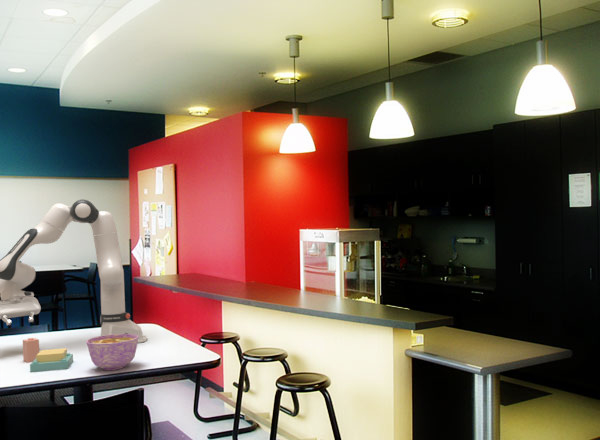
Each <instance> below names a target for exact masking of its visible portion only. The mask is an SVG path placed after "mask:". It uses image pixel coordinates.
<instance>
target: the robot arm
mask: <svg viewBox="0 0 600 440" xmlns="http://www.w3.org/2000/svg"><path fill="white" fill-rule="evenodd" d="M72 222H76V223H80V224H86V223H87V224H88V225H90V227H91V230H92V236H93V242H94V247H95V253H96V255H95V256H96V262H97V269H98V276H99V279H100V307H101V308H100V312H101V313H100V317H99V319H100V329H101V330H100V336H104V335H113V334H134V335H138V337H139V338H138V343H137V344H139V343H144V342H147V341H148V336H146V335H144V334H143V330H142V327H141V326H140V325H139V324H137V323H135V322H134V321H132V320H131V319H130V318H131V315H130V313H129V312H126V301H125V299H126V297H125V272H124V271H125V270H124V268H123V260H122V255H121V248H120V243H119V236H118V231H117V226H116V223H115V219H114V217H113V214H112V213H111V212H110V211H107V210H106V211H105V210H101V211H100V210H98V209H97V208H96V206H95V205H94V204H93V202H91V201H89V200H88V199H78V200H76V201H74V202H73V204H72V205H67V204H64V203H59V202H58V203H55V204H53V205H52V206H51V207H50V209H48V211H47V212H46V213H45V214H44V216H43V217H42V219H41V221H39V223H38V224H37V225H36V226H35V227H33V228H30V229H28V230H26V231H25V233H24V234H23V235H22V236H21V237H20V238H19V239H18V240H17V241H16V243H15V244H14V245H13V246H12V247H11V249H10V250H9V251H8V252H7V254H6V255H4V256H3V257H2V258H1V259H0V320H2V321H3V322H4V323H6V326H11V324H12V320H11V318H18V317H25V316H29V317H28V323H34V315H38V314H40V312H41V310H42V308H41V304H40V303H39V300H38V298H36V297H34V296H35V294H34V292H33V291H25V290H23V289H25V288H27V287H28V286H30V285H31V284H32V283H33V282H34V281H35V280H36V275H37V274H36V273H37V272H36V269H35V268H34V267H33V266H31V265H29V264H26V263H23V262H22V261H20V259H22V257H23V256H24V255H26V252H27V251H28V250H29V249H30V248H32V246H34V245H35V246H36V245H41V244H42V245H45V244H46V245H47V244H48V245H49V244H53V243H55V242H58V241H59V239H60V238H61V237H62V235H63V233H64V232H65V230H66V229H67V227H68V225H70V223H72Z"/></svg>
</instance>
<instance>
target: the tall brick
mask: <svg viewBox="0 0 600 440" xmlns="http://www.w3.org/2000/svg"><path fill="white" fill-rule="evenodd" d="M39 352H40V340H39V339H38V338H37V337H36V338H35V337H29V338H26V339H22V356H23V362H24V363H32V362H33V361H34V360H35V359H36V355H37V354H38V353H39Z"/></svg>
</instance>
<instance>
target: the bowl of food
mask: <svg viewBox="0 0 600 440" xmlns="http://www.w3.org/2000/svg"><path fill="white" fill-rule="evenodd" d="M138 338H139V337H138V335H134V334H113V335H104V336H101V335H100V336H94V337H92V338H89V339H87V340H86V346H87V349H88V353H89V357H90V359H91V362H92V363H93V364H94V366H96V367H97V368H101V369H103V370H104V371H115V370H120V369H123V368H125V366H127V365H129V364H130V363H132V361H133V360H134V359H135V355H136V352H137V349H138V348H137V347H138V344H139V343H138Z"/></svg>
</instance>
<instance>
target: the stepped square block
mask: <svg viewBox="0 0 600 440" xmlns="http://www.w3.org/2000/svg"><path fill="white" fill-rule="evenodd" d="M73 362H74V354H73V353H70V352H68V348H52V349H42V350H39V353H38V354H37V355H36V359H35V360H34V361H33V362H30V364H29V369H30V370H29V372H30V373H36V372H46V371H48V372H49V371H58V370H67V369H69V368H70V366H71V365H72V364H73Z"/></svg>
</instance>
